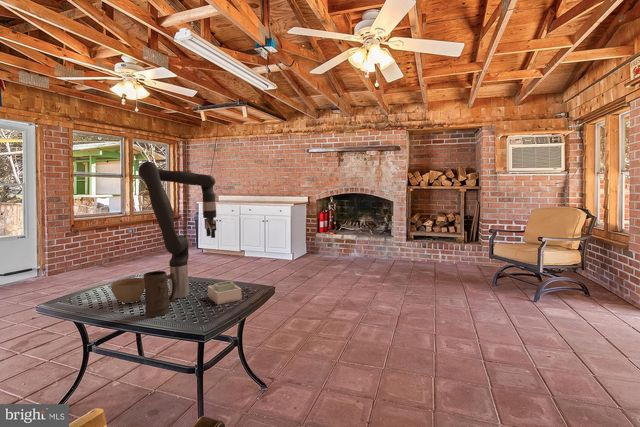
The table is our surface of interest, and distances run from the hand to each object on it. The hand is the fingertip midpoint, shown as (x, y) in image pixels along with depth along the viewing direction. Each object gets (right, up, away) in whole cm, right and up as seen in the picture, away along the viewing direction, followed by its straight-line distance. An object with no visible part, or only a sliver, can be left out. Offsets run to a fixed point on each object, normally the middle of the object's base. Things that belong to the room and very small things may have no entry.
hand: (210, 237), depth 206 cm
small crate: (+13, -31, -19) cm, 38 cm away
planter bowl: (-37, -33, -21) cm, 53 cm away
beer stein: (-12, -34, -37) cm, 51 cm away
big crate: (+13, -32, -19) cm, 39 cm away
